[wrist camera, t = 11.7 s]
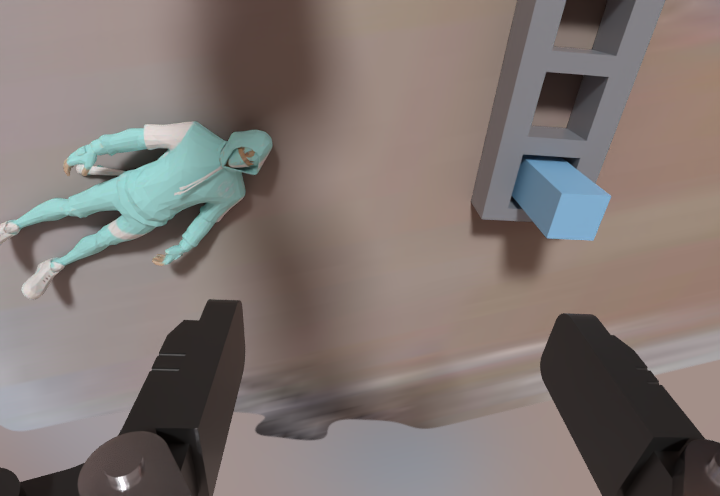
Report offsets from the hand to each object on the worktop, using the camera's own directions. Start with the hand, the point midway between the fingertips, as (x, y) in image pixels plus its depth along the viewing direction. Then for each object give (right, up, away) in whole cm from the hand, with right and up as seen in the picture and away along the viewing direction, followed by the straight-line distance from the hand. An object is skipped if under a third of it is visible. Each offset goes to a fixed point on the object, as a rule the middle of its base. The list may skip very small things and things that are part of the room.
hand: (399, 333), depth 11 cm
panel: (+16, +16, +30) cm, 38 cm away
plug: (+16, +10, +33) cm, 38 cm away
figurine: (-23, +8, +33) cm, 41 cm away
